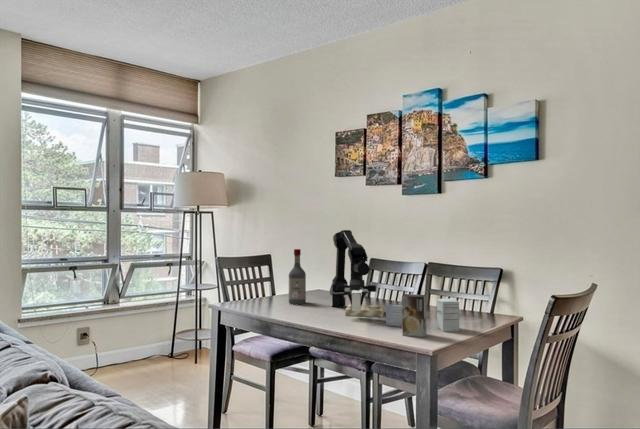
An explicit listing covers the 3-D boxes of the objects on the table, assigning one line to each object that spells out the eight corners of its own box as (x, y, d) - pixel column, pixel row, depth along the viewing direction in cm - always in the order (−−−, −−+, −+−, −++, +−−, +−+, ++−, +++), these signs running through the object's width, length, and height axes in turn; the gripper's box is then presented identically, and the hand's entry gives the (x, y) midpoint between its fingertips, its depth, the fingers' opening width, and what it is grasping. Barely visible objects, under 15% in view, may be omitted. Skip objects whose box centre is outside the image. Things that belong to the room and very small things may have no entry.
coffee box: (427, 334, 197) (427, 294, 197) (424, 337, 191) (424, 297, 191) (404, 332, 200) (404, 293, 200) (401, 335, 194) (401, 295, 194)
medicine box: (405, 324, 213) (405, 305, 213) (404, 327, 209) (404, 307, 209) (388, 323, 216) (388, 304, 216) (386, 325, 212) (386, 306, 212)
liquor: (305, 304, 263) (305, 249, 263) (288, 304, 263) (288, 249, 263) (305, 301, 272) (305, 248, 272) (289, 301, 272) (289, 248, 272)
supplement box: (436, 327, 208) (436, 298, 208) (453, 327, 208) (453, 298, 208) (442, 331, 200) (442, 301, 200) (459, 331, 201) (459, 301, 201)
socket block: (345, 315, 233) (345, 308, 233) (348, 310, 246) (348, 304, 246) (382, 317, 230) (382, 310, 230) (384, 311, 243) (384, 305, 243)
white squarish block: (351, 310, 227) (351, 293, 227) (353, 309, 231) (352, 292, 231) (360, 311, 226) (360, 294, 226) (361, 309, 230) (361, 292, 230)
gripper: (334, 274, 222) (334, 308, 222) (374, 275, 219) (374, 309, 219) (338, 271, 233) (338, 303, 233) (376, 272, 230) (376, 305, 230)
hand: (356, 305), depth 228 cm, fingers closed on white squarish block, 4 cm apart
